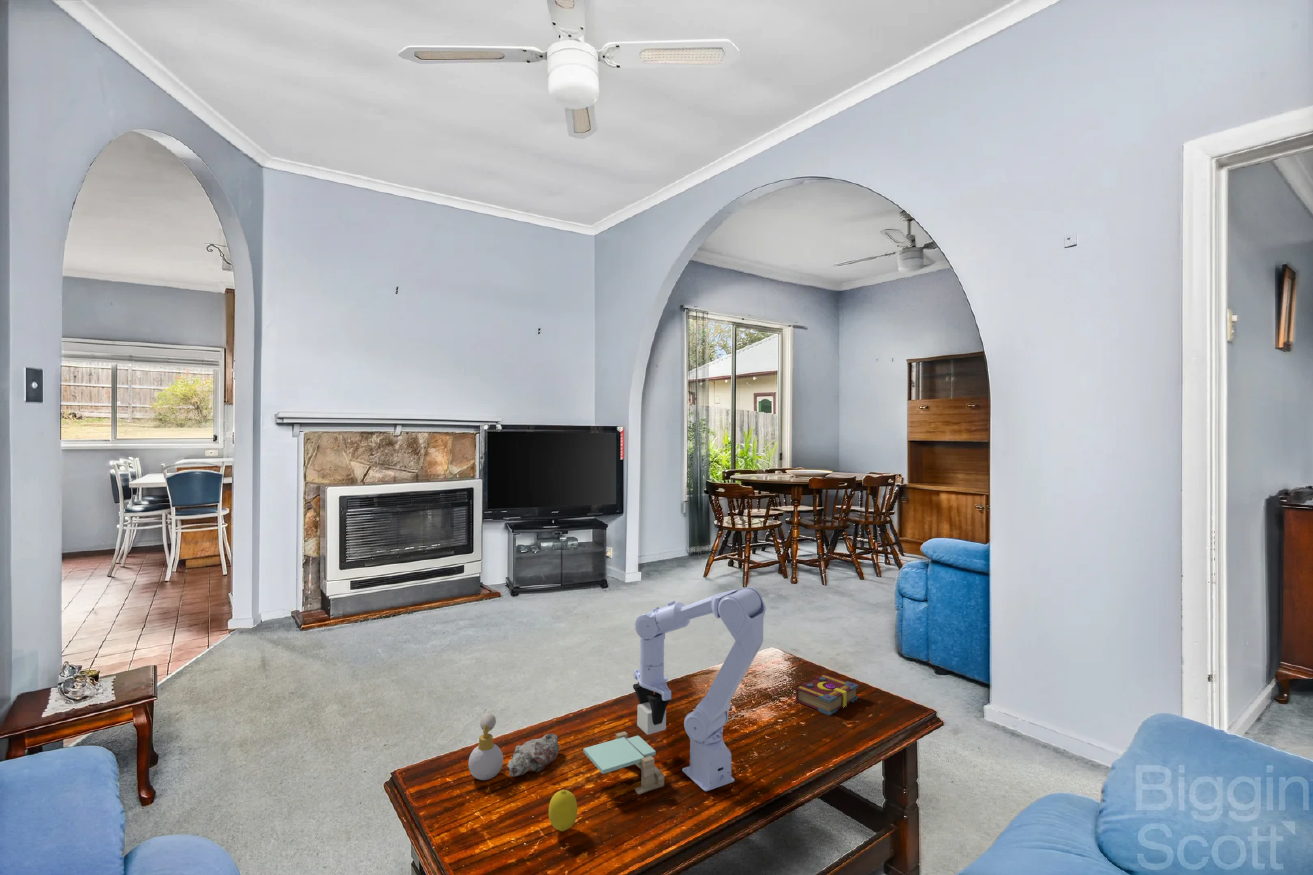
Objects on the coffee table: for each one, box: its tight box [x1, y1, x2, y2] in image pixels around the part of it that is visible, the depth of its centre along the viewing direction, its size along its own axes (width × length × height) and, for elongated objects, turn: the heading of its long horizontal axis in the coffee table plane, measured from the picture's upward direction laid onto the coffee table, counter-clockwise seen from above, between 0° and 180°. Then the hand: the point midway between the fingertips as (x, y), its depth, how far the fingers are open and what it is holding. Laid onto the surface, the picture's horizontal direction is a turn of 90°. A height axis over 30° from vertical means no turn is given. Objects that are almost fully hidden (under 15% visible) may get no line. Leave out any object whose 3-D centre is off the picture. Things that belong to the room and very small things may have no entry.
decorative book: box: [795, 673, 859, 716], centre depth 178 cm, size 11×16×5 cm
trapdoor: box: [582, 735, 657, 775], centre depth 138 cm, size 11×14×2 cm
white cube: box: [636, 702, 667, 736], centre depth 149 cm, size 5×5×5 cm
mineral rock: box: [507, 732, 560, 778], centre depth 144 cm, size 15×8×4 cm, turn 133°
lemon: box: [548, 789, 578, 832], centre depth 120 cm, size 6×6×8 cm
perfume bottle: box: [468, 712, 504, 781], centre depth 140 cm, size 8×10×12 cm
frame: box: [615, 731, 665, 795], centre depth 140 cm, size 14×6×7 cm, turn 30°
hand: (651, 718), depth 149 cm, fingers closed on white cube, 5 cm apart
